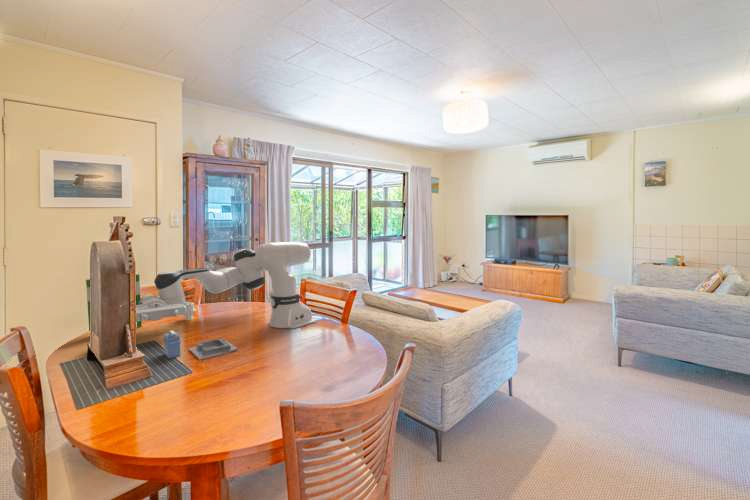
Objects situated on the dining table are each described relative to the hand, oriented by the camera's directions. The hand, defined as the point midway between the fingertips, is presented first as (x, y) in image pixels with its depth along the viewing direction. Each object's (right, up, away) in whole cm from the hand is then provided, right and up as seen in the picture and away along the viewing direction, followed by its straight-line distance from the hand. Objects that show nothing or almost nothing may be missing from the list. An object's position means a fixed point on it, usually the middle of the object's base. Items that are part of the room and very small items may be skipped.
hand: (162, 316), depth 145 cm
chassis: (+21, -12, -3) cm, 25 cm away
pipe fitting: (-8, -8, +36) cm, 38 cm away
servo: (+8, -13, -8) cm, 17 cm away
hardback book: (-30, -10, +17) cm, 36 cm away
